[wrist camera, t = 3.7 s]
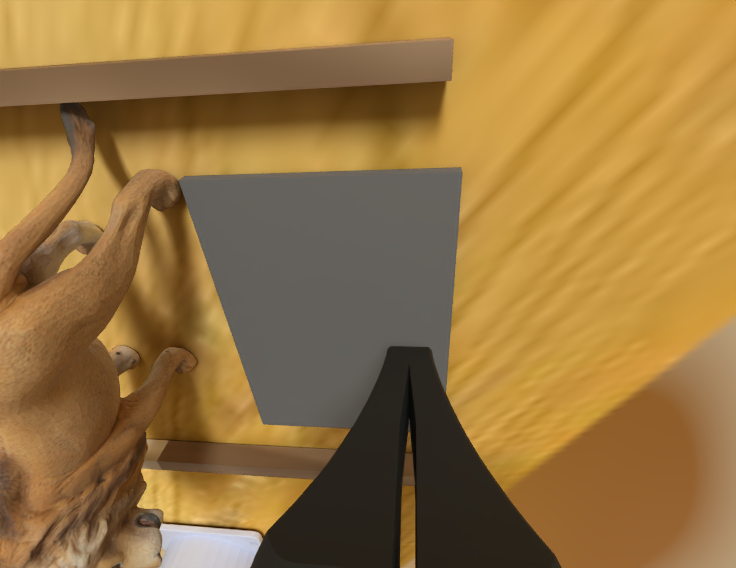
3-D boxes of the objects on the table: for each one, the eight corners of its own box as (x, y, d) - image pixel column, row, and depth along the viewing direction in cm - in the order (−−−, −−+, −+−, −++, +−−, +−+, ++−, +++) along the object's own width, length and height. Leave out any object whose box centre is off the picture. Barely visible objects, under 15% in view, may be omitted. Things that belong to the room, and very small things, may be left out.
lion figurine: (237, 421, 19) (128, 668, 12) (135, 408, 20) (-33, 642, 12) (169, 103, 11) (-336, 278, 4) (-8, 88, 11) (-824, 221, 4)
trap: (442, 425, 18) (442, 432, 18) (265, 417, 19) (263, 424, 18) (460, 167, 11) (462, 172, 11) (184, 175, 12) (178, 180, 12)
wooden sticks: (429, 463, 20) (430, 487, 19) (52, 442, 22) (35, 461, 21) (449, 37, 9) (453, 39, 8) (-260, 87, 12) (-320, 93, 11)
